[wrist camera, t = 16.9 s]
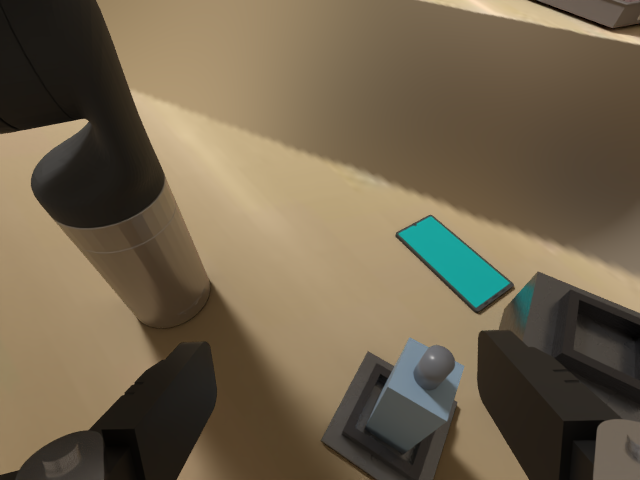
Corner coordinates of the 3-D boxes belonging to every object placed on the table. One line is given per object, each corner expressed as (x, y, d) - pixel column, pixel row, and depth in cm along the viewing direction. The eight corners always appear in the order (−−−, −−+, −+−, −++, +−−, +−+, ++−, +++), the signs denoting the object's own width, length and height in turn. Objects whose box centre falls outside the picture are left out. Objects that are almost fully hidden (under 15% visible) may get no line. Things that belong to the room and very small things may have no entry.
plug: (364, 428, 32) (396, 370, 20) (381, 391, 34) (419, 318, 22) (403, 454, 31) (463, 408, 19) (418, 413, 33) (481, 348, 21)
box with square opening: (479, 399, 35) (525, 365, 27) (504, 308, 41) (547, 261, 34) (611, 472, 31) (708, 456, 23) (615, 359, 38) (690, 318, 30)
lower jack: (320, 441, 32) (321, 436, 30) (367, 353, 38) (370, 344, 36) (421, 511, 29) (428, 510, 27) (455, 403, 34) (463, 397, 32)
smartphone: (477, 312, 41) (395, 233, 49) (474, 315, 41) (393, 236, 49) (515, 284, 43) (431, 213, 51) (512, 287, 44) (429, 217, 52)
